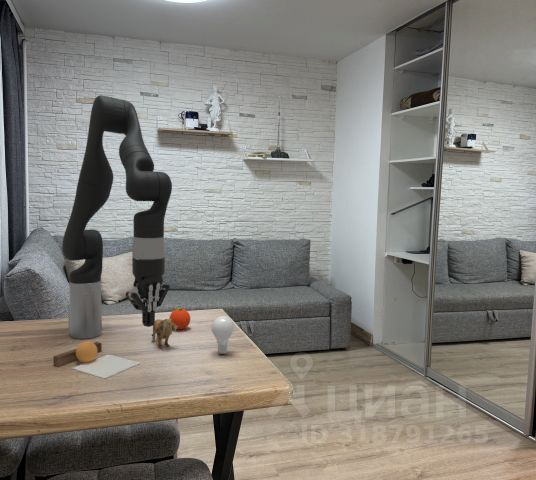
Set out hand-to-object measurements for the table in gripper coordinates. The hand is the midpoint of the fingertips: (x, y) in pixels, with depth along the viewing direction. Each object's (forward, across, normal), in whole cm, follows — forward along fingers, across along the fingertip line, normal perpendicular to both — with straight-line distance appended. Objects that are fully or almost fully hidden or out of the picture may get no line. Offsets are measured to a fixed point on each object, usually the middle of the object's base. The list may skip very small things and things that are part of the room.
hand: (148, 325), depth 115 cm
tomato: (+14, -36, -21) cm, 44 cm away
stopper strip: (+14, 0, -26) cm, 29 cm away
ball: (+11, +1, -22) cm, 24 cm away
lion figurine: (+14, -21, -15) cm, 30 cm away
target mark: (+14, 0, -15) cm, 20 cm away
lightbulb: (+14, -24, +5) cm, 28 cm away
